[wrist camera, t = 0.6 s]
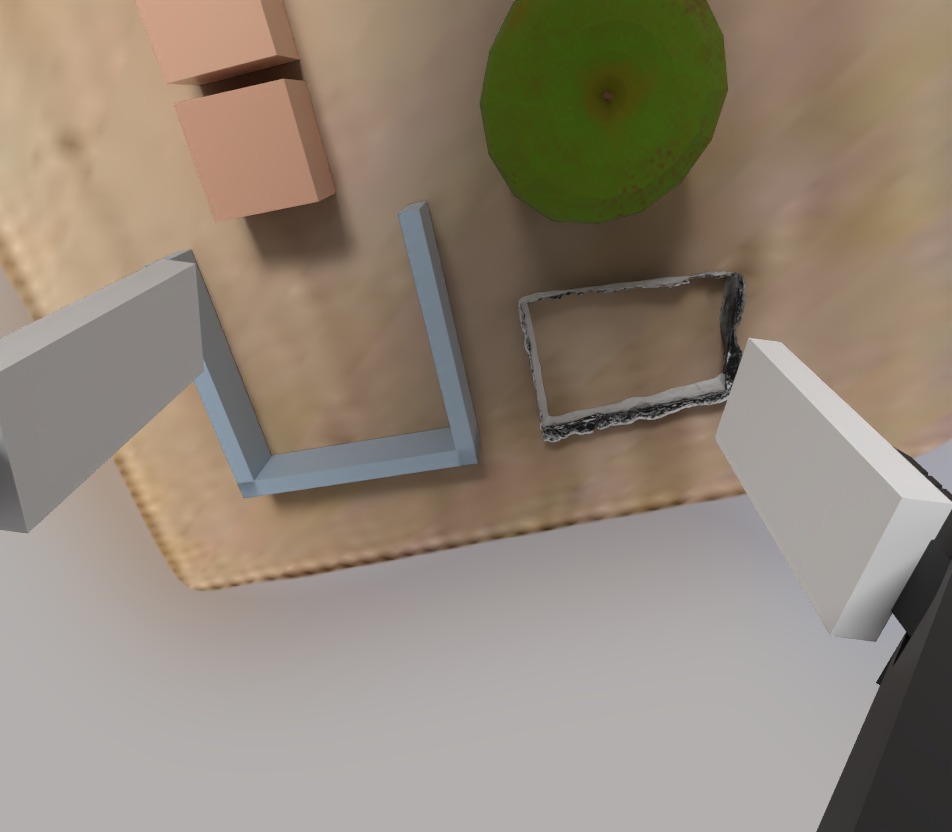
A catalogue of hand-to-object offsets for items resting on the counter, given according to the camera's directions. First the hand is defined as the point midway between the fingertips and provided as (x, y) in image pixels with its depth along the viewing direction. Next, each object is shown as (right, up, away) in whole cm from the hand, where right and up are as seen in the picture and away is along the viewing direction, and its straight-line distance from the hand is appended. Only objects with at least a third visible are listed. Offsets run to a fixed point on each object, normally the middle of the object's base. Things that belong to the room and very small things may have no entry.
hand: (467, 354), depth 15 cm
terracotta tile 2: (-12, +14, +22) cm, 29 cm away
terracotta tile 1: (-13, +20, +19) cm, 31 cm away
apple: (+6, +16, +20) cm, 26 cm away
